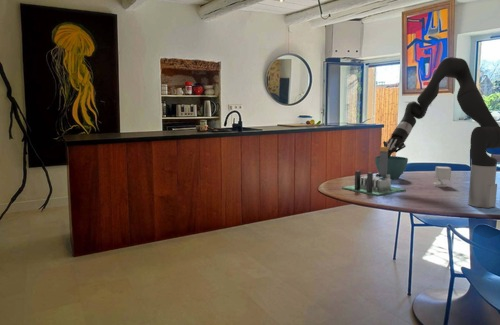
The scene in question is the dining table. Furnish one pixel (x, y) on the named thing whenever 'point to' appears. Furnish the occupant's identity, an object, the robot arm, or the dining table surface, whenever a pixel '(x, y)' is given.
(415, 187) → the dining table surface
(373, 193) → the heatsink board
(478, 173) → the robot arm
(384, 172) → the grey flat bar
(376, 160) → the plant pot
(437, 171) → the security camera
